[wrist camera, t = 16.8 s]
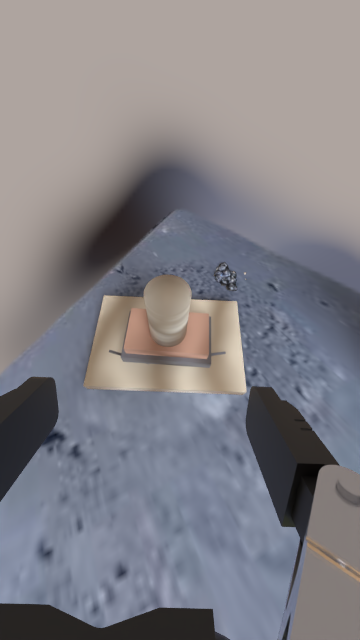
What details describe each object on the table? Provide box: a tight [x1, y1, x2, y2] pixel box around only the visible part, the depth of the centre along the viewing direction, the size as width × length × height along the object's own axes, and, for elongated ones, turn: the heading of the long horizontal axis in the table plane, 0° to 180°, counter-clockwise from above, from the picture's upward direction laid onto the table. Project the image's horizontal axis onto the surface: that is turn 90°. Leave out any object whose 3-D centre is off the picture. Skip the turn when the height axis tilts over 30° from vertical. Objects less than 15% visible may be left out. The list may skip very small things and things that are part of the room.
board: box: [83, 295, 246, 395], centre depth 29 cm, size 18×12×2 cm, turn 88°
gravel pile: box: [214, 262, 247, 291], centre depth 35 cm, size 7×8×2 cm
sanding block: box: [121, 275, 211, 368], centre depth 24 cm, size 10×6×10 cm, turn 86°
